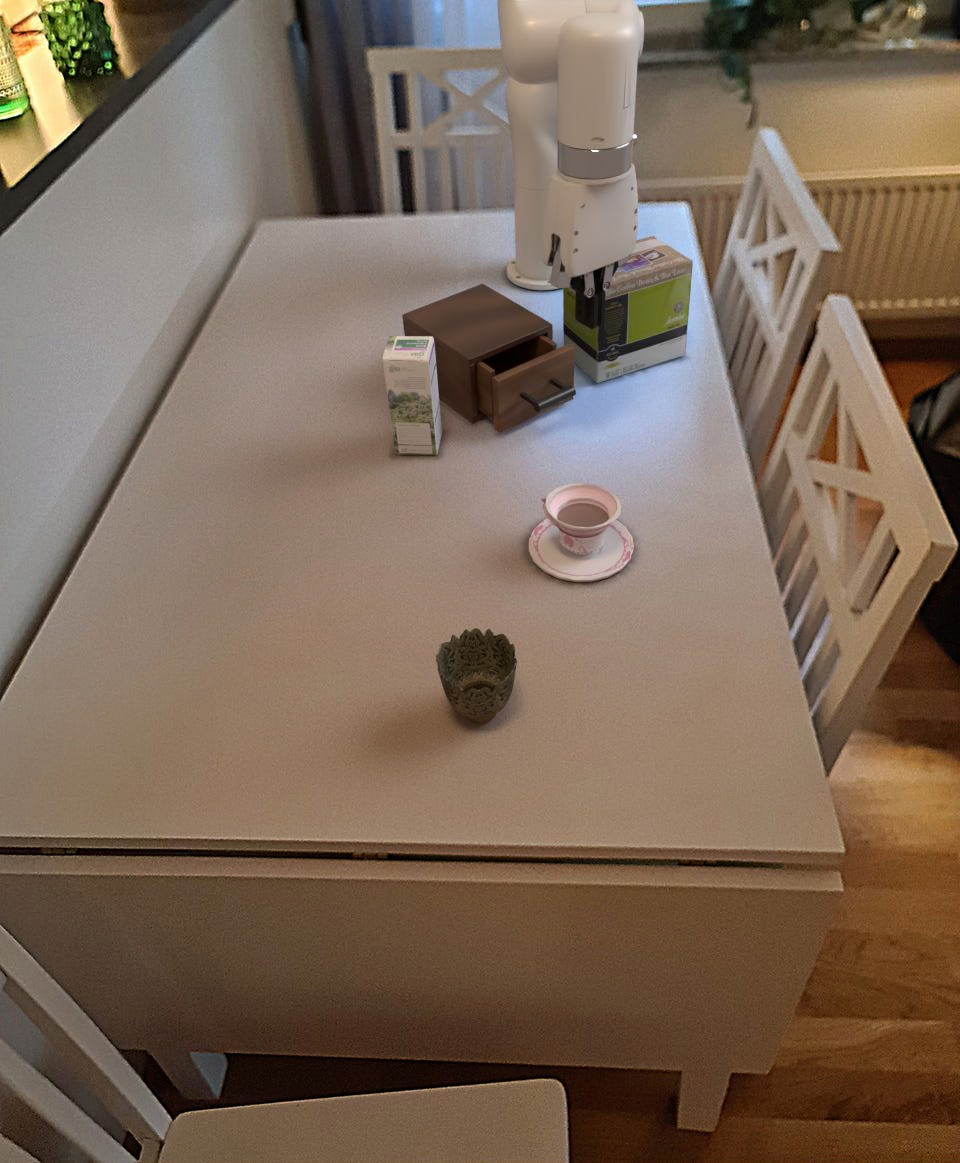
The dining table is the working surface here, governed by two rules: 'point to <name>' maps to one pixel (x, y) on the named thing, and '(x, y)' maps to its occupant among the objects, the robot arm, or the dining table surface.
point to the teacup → (581, 534)
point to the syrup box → (413, 394)
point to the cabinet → (471, 338)
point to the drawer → (524, 381)
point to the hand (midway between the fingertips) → (589, 322)
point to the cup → (477, 673)
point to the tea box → (635, 314)
